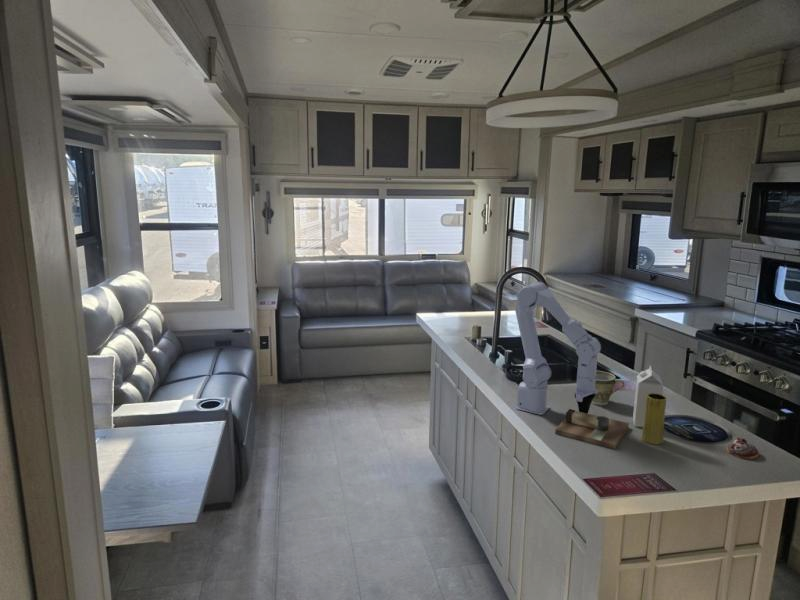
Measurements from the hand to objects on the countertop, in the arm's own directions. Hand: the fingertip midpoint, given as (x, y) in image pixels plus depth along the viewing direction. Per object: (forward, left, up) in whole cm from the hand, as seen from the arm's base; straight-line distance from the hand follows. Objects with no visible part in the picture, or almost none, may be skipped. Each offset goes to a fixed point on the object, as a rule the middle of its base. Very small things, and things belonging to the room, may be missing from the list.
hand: (583, 415), depth 178 cm
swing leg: (+2, -4, -1) cm, 5 cm away
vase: (+21, 0, -3) cm, 21 cm away
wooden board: (+4, -4, -3) cm, 6 cm away
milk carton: (+17, +11, -3) cm, 20 cm away
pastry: (+44, +6, -3) cm, 45 cm away
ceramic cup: (+1, +21, -3) cm, 21 cm away
